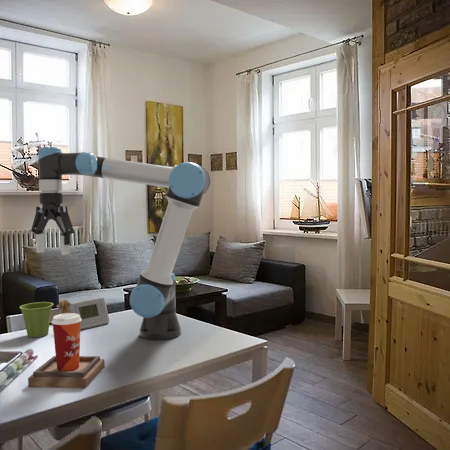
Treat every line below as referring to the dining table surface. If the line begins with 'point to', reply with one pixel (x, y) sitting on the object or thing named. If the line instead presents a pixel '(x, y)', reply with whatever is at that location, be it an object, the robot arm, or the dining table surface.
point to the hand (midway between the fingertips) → (52, 253)
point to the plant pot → (37, 318)
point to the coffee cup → (67, 341)
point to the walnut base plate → (67, 374)
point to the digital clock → (90, 312)
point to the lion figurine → (64, 306)
